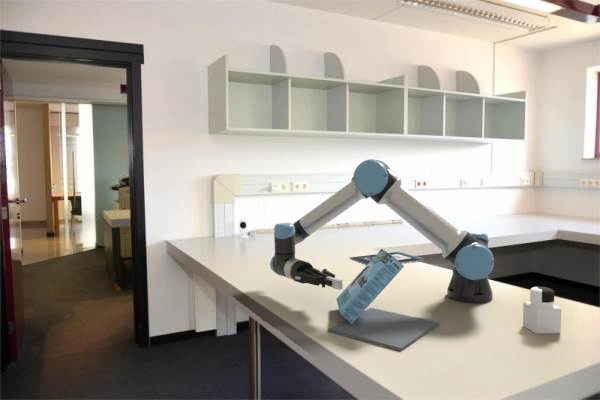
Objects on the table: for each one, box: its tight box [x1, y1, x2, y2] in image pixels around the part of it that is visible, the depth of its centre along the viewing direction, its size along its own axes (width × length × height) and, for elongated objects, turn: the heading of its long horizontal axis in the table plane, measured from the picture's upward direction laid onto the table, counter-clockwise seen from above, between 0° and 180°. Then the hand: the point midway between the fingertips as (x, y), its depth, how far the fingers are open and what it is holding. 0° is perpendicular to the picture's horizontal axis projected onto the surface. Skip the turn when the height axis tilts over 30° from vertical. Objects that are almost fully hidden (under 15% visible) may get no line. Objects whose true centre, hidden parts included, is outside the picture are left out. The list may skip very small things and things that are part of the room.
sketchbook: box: [349, 251, 424, 266], centre depth 227 cm, size 22×30×2 cm
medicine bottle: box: [522, 286, 562, 335], centre depth 128 cm, size 7×7×12 cm
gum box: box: [335, 248, 405, 324], centre depth 140 cm, size 20×5×23 cm
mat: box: [327, 307, 439, 352], centre depth 131 cm, size 23×24×1 cm
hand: (340, 285), depth 138 cm, fingers closed
